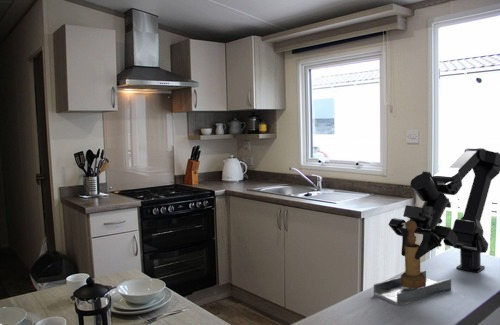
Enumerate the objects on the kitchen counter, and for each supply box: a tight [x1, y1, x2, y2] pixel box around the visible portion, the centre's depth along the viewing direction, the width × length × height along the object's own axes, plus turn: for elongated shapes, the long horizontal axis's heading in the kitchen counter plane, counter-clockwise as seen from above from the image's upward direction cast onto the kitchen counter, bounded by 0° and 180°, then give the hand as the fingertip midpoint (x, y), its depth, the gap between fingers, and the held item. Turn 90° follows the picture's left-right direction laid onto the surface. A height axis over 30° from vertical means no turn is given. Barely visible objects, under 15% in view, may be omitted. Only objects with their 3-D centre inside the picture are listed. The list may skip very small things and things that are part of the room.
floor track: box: [373, 270, 452, 307], centre depth 119 cm, size 20×9×3 cm, turn 117°
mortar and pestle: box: [400, 219, 427, 289], centre depth 118 cm, size 7×6×18 cm
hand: (409, 256), depth 117 cm, fingers closed on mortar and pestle, 4 cm apart
